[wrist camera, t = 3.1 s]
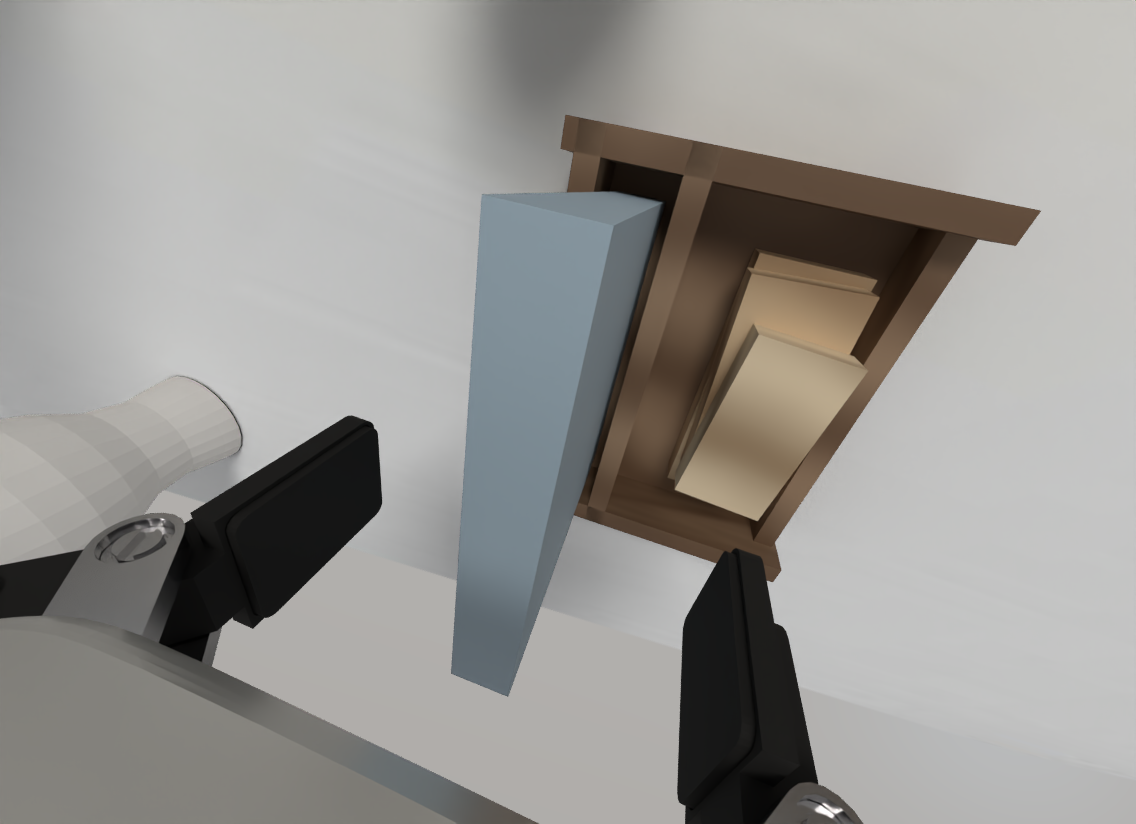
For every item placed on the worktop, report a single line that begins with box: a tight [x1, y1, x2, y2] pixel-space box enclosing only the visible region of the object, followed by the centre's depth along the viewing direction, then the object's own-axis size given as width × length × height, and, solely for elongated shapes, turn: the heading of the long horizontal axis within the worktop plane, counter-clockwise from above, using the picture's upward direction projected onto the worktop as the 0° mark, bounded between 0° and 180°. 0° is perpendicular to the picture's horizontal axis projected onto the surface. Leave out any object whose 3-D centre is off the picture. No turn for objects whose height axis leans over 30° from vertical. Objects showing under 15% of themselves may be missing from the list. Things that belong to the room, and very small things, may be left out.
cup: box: [0, 376, 241, 565], centre depth 29 cm, size 11×11×15 cm
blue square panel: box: [451, 191, 666, 696], centre depth 15 cm, size 14×2×14 cm, turn 169°
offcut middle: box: [680, 267, 880, 462], centre depth 18 cm, size 10×4×2 cm, turn 172°
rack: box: [561, 115, 1041, 582], centre depth 20 cm, size 18×15×4 cm
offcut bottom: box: [667, 249, 878, 480], centre depth 20 cm, size 12×4×2 cm, turn 169°
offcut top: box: [675, 323, 868, 521], centre depth 17 cm, size 8×4×2 cm, turn 165°
